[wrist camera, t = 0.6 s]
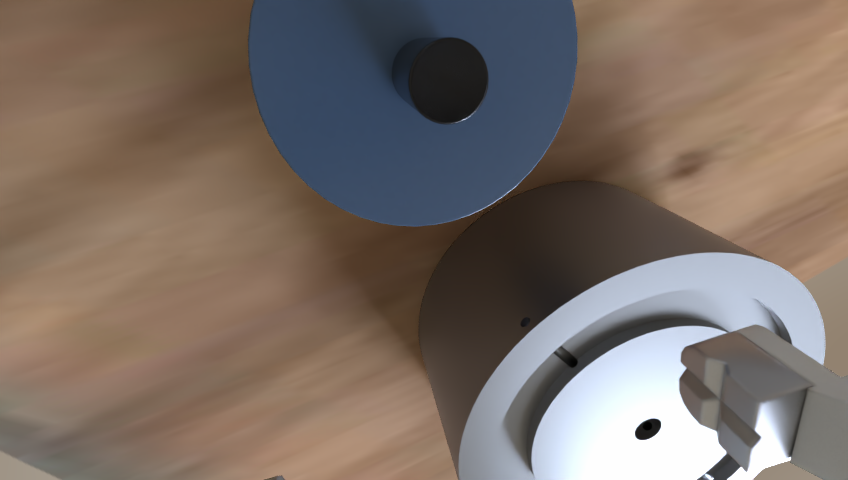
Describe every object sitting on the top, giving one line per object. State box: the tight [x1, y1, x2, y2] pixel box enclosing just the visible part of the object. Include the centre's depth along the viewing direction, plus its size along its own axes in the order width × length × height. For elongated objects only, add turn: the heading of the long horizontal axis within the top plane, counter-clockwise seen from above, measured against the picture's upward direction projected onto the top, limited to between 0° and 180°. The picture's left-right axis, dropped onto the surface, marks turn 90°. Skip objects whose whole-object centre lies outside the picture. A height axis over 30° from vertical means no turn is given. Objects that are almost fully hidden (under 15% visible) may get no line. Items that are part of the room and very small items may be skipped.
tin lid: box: [248, 0, 577, 226], centre depth 15 cm, size 12×12×5 cm
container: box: [419, 181, 825, 480], centre depth 34 cm, size 25×25×13 cm
